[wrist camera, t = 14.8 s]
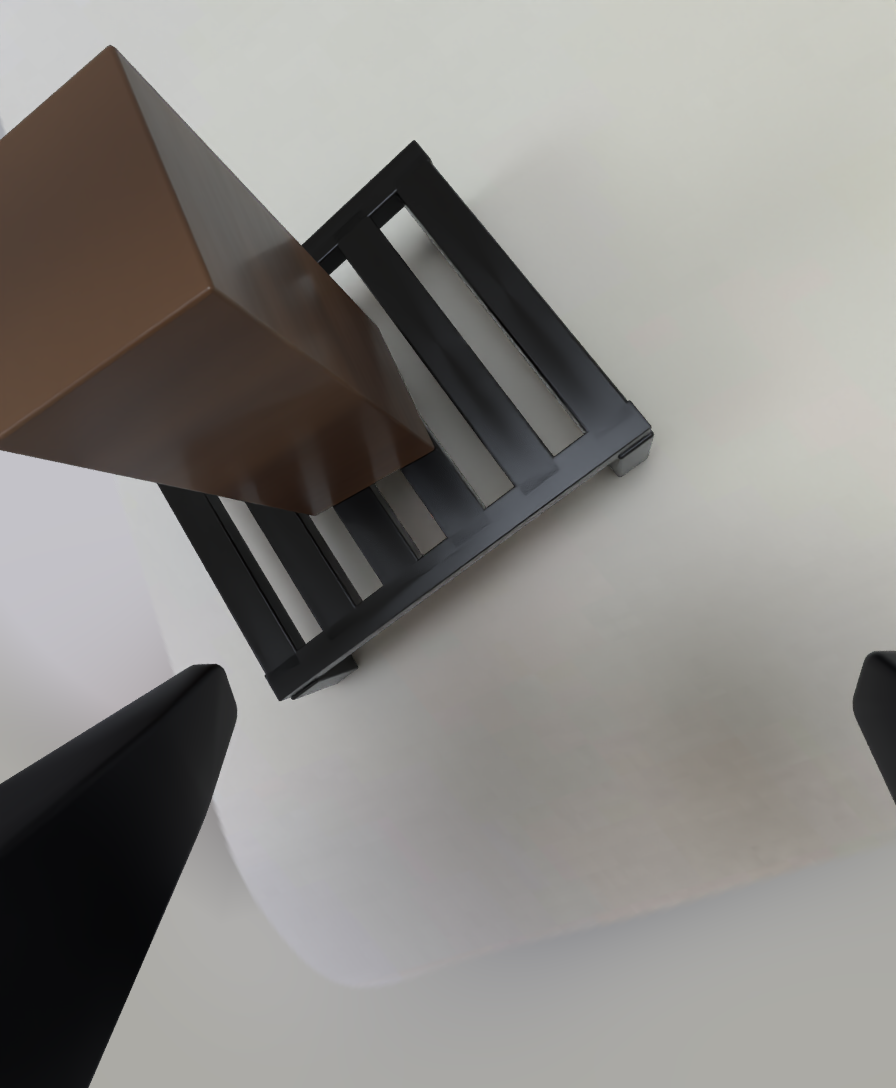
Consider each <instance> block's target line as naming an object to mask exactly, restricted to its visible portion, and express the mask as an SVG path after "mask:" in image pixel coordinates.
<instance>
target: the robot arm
mask: <svg viewBox="0 0 896 1088" xmlns="http://www.w3.org/2000/svg"><path fill="white" fill-rule="evenodd" d="M853 711H854V715H855V718H856V720H857V722H858V725H859V727H860V729H861V731H862V733H863V735H864V737H865V740H866V742H867V744H868V746H869V748H870V750H871V753H872V755H873V757H874V759H875V761H876V763H877V766H878V768H879V770H880V772H881V774H882V776H883V779H884V781H885V783H886V785H887V787H888V789H889V791H890V794H891V796H892V798H893V800H894V802H895V804H896V651H874V652H872V653H870V654H868V655H867V657H866V658H865V660H864V663H863V666H862V669H861V673H860V676H859V679H858V683H857V686H856V689H855V693H854V696H853ZM236 719H237V706H236V702H235V699H234V696H233V693H232V690H231V687H230V684H229V682H228V679H227V676H226V673H225V671H224V669H223V668H222V667H221V666H220V665H217V664H198V665H192V666H190V667H188V668H187V669H185V670H184V671H182V672H180V673H179V674H177V675H175V676H174V677H172V678H171V679H169V680H167V681H166V682H164V683H163V684H161V685H159V686H158V687H156V688H154V689H153V690H151V691H150V692H148V693H146V694H145V695H144V696H142V697H140V698H138V699H137V700H135V701H134V702H132V703H130V704H129V705H127V706H125V707H124V708H122V709H121V710H119V711H117V712H116V713H114V714H113V715H111V716H109V717H108V718H106V719H105V720H103V721H101V722H100V723H98V724H96V725H95V726H93V727H92V728H90V729H88V730H87V731H85V732H83V733H82V734H81V735H79V736H77V737H75V738H74V739H72V740H71V741H69V742H67V743H66V744H64V745H63V746H61V747H59V748H58V749H56V750H54V751H53V752H51V753H50V754H48V755H46V756H45V757H43V758H42V759H40V760H38V761H37V762H35V763H34V764H32V765H30V766H29V767H27V768H25V769H24V770H22V771H21V772H19V773H17V774H16V775H14V776H12V777H11V778H9V779H8V780H6V781H4V782H3V783H1V784H0V1088H88V1087H89V1085H90V1083H91V1081H92V1078H93V1076H94V1074H95V1071H96V1069H97V1067H98V1065H99V1062H100V1060H101V1058H102V1055H103V1053H104V1051H105V1048H106V1046H107V1044H108V1041H109V1039H110V1037H111V1034H112V1032H113V1030H114V1027H115V1025H116V1023H117V1021H118V1018H119V1016H120V1014H121V1011H122V1009H123V1007H124V1004H125V1002H126V1000H127V998H128V995H129V993H130V991H131V988H132V986H133V984H134V981H135V979H136V977H137V974H138V972H139V970H140V968H141V965H142V963H143V961H144V958H145V956H146V954H147V951H148V949H149V947H150V944H151V942H152V940H153V937H154V935H155V933H156V930H157V928H158V926H159V924H160V921H161V919H162V917H163V914H164V912H165V910H166V907H167V905H168V903H169V901H170V898H171V896H172V894H173V891H174V889H175V887H176V884H177V882H178V880H179V877H180V875H181V873H182V870H183V868H184V866H185V864H186V861H187V859H188V857H189V854H190V852H191V850H192V847H193V845H194V843H195V840H196V838H197V836H198V833H199V831H200V829H201V826H202V824H203V821H204V819H205V816H206V813H207V811H208V808H209V805H210V802H211V799H212V796H213V793H214V790H215V786H216V783H217V780H218V777H219V774H220V771H221V768H222V764H223V761H224V758H225V755H226V752H227V749H228V746H229V742H230V739H231V736H232V733H233V730H234V727H235V724H236Z"/></svg>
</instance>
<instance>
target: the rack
mask: <svg viewBox="0 0 896 1088" xmlns="http://www.w3.org/2000/svg"><path fill="white" fill-rule="evenodd" d="M403 207H405V208H406V209H407V211H408V212H409V213H410V214H411V216H412V217H413V218H414V219H415V221H416V222H417V223H418V224H419V226H420V227H421V228H422V230H423V231H424V232H425V233H426V235H427V236H428V237H429V238H430V240H431V241H432V242H433V243H434V245H435V246H436V247H437V249H438V250H439V251H440V252H441V254H442V255H443V256H444V257H445V259H446V260H447V261H448V262H449V264H450V265H451V266H452V268H453V269H454V270H455V271H456V273H457V274H458V275H459V276H460V278H461V279H462V280H463V281H464V283H465V284H466V285H467V287H468V288H469V289H470V290H471V292H472V293H473V294H474V295H475V297H476V298H477V299H478V300H479V302H480V303H481V304H482V306H483V307H484V308H485V309H486V311H487V312H488V313H489V314H490V316H491V317H492V318H493V319H494V321H495V322H496V323H497V325H498V326H499V327H500V328H501V330H502V331H503V332H504V333H505V335H506V336H507V337H508V338H509V340H510V341H511V342H512V344H513V345H514V346H515V347H516V349H517V350H518V351H519V352H520V354H521V355H522V356H523V357H524V359H525V360H526V361H527V363H528V364H529V365H530V366H531V368H532V369H533V370H534V371H535V373H536V374H537V375H538V376H539V378H540V379H541V380H542V381H543V383H544V384H545V385H546V387H547V388H548V389H549V390H550V392H551V393H552V394H553V395H554V397H555V398H556V399H557V400H558V402H559V403H560V404H561V406H562V407H563V408H564V409H565V411H566V412H567V413H568V414H569V416H570V417H571V418H572V419H573V421H574V422H575V423H576V425H577V426H578V427H579V428H580V430H581V431H582V432H583V433H584V434H583V435H582V436H581V437H579V438H578V439H577V440H576V441H574V442H573V443H572V444H570V445H569V446H568V447H566V448H565V449H564V450H562V451H561V452H560V453H558V454H557V455H556V456H553V455H552V453H551V452H550V451H549V449H548V448H547V447H546V446H545V444H544V443H543V442H542V440H541V439H540V438H539V436H538V435H537V434H536V433H535V431H534V430H533V429H532V427H531V426H530V425H529V423H528V422H527V421H526V419H525V418H524V417H523V416H522V414H521V413H520V412H519V410H518V409H517V408H516V406H515V405H514V404H513V403H512V401H511V400H510V399H509V397H508V396H507V395H506V393H505V392H504V391H503V390H502V388H501V387H500V386H499V384H498V383H497V382H496V380H495V379H494V378H493V376H492V375H491V374H490V373H489V371H488V370H487V369H486V367H485V366H484V365H483V363H482V362H481V361H480V360H479V358H478V357H477V356H476V354H475V353H474V352H473V350H472V349H471V348H470V346H469V345H468V344H467V343H466V341H465V340H464V339H463V337H462V336H461V335H460V333H459V332H458V331H457V330H456V328H455V327H454V326H453V324H452V323H451V322H450V320H449V319H448V318H447V316H446V315H445V314H444V313H443V311H442V310H441V309H440V307H439V306H438V305H437V303H436V302H435V301H434V300H433V298H432V297H431V296H430V294H429V293H428V292H427V290H426V289H425V288H424V286H423V285H422V284H421V283H420V281H419V280H418V279H417V277H416V276H415V275H414V273H413V272H412V271H411V270H410V268H409V267H408V266H407V264H406V263H405V262H404V260H403V259H402V258H401V256H400V255H399V254H398V253H397V251H396V250H395V249H394V247H393V246H392V245H391V243H390V242H389V241H388V240H387V238H386V237H385V236H384V234H383V233H382V232H381V230H380V228H381V227H382V226H383V225H384V224H386V223H387V222H388V221H389V220H390V219H391V218H392V217H393V216H394V215H395V214H396V213H398V212H399V211H400V210H401V209H402V208H403ZM301 246H302V247H303V248H304V249H305V250H306V251H307V252H308V253H309V254H310V255H311V256H312V258H313V259H314V260H315V261H316V262H317V263H318V264H319V265H320V266H321V267H322V268H323V269H324V270H325V271H326V272H327V273H328V275H330V274H331V273H332V272H333V271H334V270H335V269H336V268H337V267H339V266H340V265H341V264H342V263H343V262H344V261H345V260H346V259H347V260H348V261H349V263H350V264H351V265H352V267H353V268H354V269H355V271H356V272H357V274H358V275H359V276H360V278H361V279H362V280H363V282H364V283H365V284H366V286H367V287H368V288H369V290H370V291H371V293H372V294H373V295H374V297H375V298H376V299H377V301H378V302H379V303H380V305H381V306H382V307H383V309H384V310H385V312H386V313H387V314H388V316H389V317H390V318H391V320H392V321H393V322H394V324H395V325H396V326H397V328H398V329H399V331H400V332H401V333H402V335H403V336H404V337H405V339H406V340H407V341H408V343H409V344H410V345H411V347H412V348H413V350H414V351H415V352H416V354H417V355H418V356H419V358H420V359H421V360H422V362H423V363H424V364H425V366H426V367H427V368H428V370H429V371H430V373H431V374H432V375H433V377H434V378H435V379H436V381H437V382H438V383H439V385H440V386H441V387H442V389H443V390H444V392H445V393H446V394H447V396H448V397H449V398H450V400H451V401H452V402H453V404H454V405H455V406H456V408H457V409H458V411H459V412H460V413H461V415H462V416H463V417H464V419H465V420H466V421H467V423H468V424H469V425H470V427H471V428H472V430H473V431H474V432H475V434H476V435H477V436H478V438H479V439H480V440H481V442H482V443H483V444H484V446H485V447H486V448H487V450H488V451H489V453H490V454H491V455H492V457H493V458H494V459H495V461H496V462H497V463H498V465H499V466H500V467H501V469H502V470H503V472H504V473H505V474H506V476H507V477H508V478H509V480H510V481H511V482H512V484H513V485H514V486H515V487H513V488H512V489H511V490H509V491H508V492H507V493H505V494H504V495H503V496H501V497H500V498H499V499H497V500H496V501H495V502H493V503H492V504H491V505H489V506H488V507H487V508H486V507H485V505H484V504H483V502H482V501H481V500H480V498H479V497H478V495H477V494H476V493H475V491H474V490H473V489H472V487H471V486H470V484H469V483H468V482H467V480H466V479H465V477H464V476H463V475H462V473H461V472H460V470H459V469H458V468H457V466H456V465H455V463H454V462H453V461H452V459H451V458H450V456H449V455H448V454H447V452H446V451H445V449H444V448H443V447H442V445H441V444H440V442H439V441H438V440H437V438H436V437H435V436H434V434H433V433H432V431H431V430H430V429H429V427H428V426H427V424H426V423H425V422H424V420H423V419H422V417H421V416H420V417H421V420H422V422H423V424H424V426H425V428H426V430H427V432H428V434H429V437H430V439H431V441H432V443H433V445H434V450H433V451H431V452H429V453H427V454H426V455H424V456H422V457H420V458H418V459H417V460H415V461H413V462H411V463H410V464H408V465H406V466H404V467H402V468H401V469H400V470H401V471H402V473H403V474H404V476H405V477H406V479H407V480H408V482H409V483H410V485H411V486H412V487H413V489H414V490H415V492H416V493H417V495H418V496H419V498H420V499H421V500H422V502H423V503H424V505H425V506H426V508H427V509H428V511H429V512H430V514H431V515H432V516H433V518H434V519H435V521H436V522H437V524H438V525H439V527H440V528H441V529H442V531H443V532H444V534H445V535H446V537H447V538H446V539H444V540H443V541H442V542H440V543H439V544H438V545H436V546H435V547H434V548H432V549H431V550H430V551H428V552H427V553H426V554H424V555H422V554H421V552H420V551H419V549H418V548H417V546H416V545H415V543H414V542H413V540H412V539H411V537H410V536H409V534H408V533H407V531H406V530H405V528H404V527H403V525H402V524H401V522H400V521H399V519H398V518H397V516H396V515H395V513H394V512H393V510H392V509H391V507H390V506H389V505H388V503H387V502H386V500H385V499H384V497H383V496H382V494H381V493H380V491H379V490H378V488H377V487H376V485H375V484H372V485H370V486H368V487H366V488H365V489H363V490H361V491H359V492H357V493H356V494H354V495H352V496H350V497H348V498H347V499H345V500H343V501H341V502H339V503H338V504H336V505H334V506H332V507H333V508H334V510H335V511H336V513H337V514H338V516H339V518H340V519H341V521H342V522H343V524H344V525H345V527H346V528H347V530H348V531H349V533H350V535H351V536H352V538H353V539H354V541H355V542H356V544H357V545H358V547H359V548H360V550H361V552H362V553H363V555H364V556H365V558H366V559H367V561H368V562H369V564H370V566H371V567H372V569H373V570H374V572H375V573H376V575H377V576H378V578H379V579H380V581H381V583H382V584H383V586H382V587H381V588H379V589H378V590H377V591H375V592H374V593H373V594H372V595H370V596H369V597H368V598H366V599H365V600H364V601H362V599H361V597H360V596H359V594H358V593H357V591H356V589H355V588H354V586H353V585H352V583H351V582H350V580H349V578H348V577H347V575H346V574H345V572H344V570H343V569H342V567H341V566H340V564H339V563H338V561H337V559H336V558H335V556H334V555H333V553H332V551H331V550H330V548H329V547H328V545H327V544H326V542H325V540H324V539H323V537H322V536H321V534H320V532H319V531H318V529H317V528H316V526H315V525H314V523H313V521H312V520H311V518H310V517H309V515H308V514H303V513H298V512H293V511H288V510H284V509H279V508H274V507H269V506H265V505H260V504H255V503H250V502H245V503H246V505H247V506H248V508H249V510H250V511H251V513H252V515H253V516H254V518H255V520H256V521H257V523H258V525H259V526H260V528H261V530H262V531H263V533H264V534H265V536H266V538H267V539H268V541H269V543H270V544H271V546H272V548H273V549H274V551H275V553H276V554H277V556H278V558H279V559H280V561H281V563H282V564H283V566H284V567H285V569H286V571H287V572H288V574H289V576H290V577H291V579H292V581H293V582H294V584H295V586H296V587H297V589H298V591H299V592H300V594H301V596H302V597H303V599H304V600H305V602H306V604H307V605H308V607H309V609H310V610H311V612H312V614H313V615H314V617H315V619H316V620H317V622H318V624H319V625H320V627H321V629H322V630H323V631H322V632H321V633H320V634H319V635H317V636H316V637H315V638H313V639H312V640H311V641H309V642H308V643H307V644H306V643H305V642H304V640H303V638H302V637H301V635H300V633H299V632H298V630H297V628H296V627H295V625H294V623H293V622H292V620H291V618H290V617H289V615H288V613H287V612H286V610H285V608H284V606H283V605H282V603H281V601H280V600H279V598H278V596H277V595H276V593H275V591H274V590H273V588H272V586H271V585H270V583H269V581H268V580H267V578H266V576H265V575H264V573H263V571H262V570H261V568H260V566H259V564H258V563H257V561H256V559H255V558H254V556H253V554H252V553H251V551H250V549H249V548H248V546H247V544H246V543H245V541H244V539H243V538H242V536H241V534H240V533H239V531H238V529H237V528H236V526H235V524H234V522H233V521H232V519H231V517H230V516H229V514H228V512H227V511H226V509H225V507H224V506H223V504H222V502H221V501H220V499H219V497H218V496H217V495H212V494H207V493H202V492H198V491H193V490H188V489H183V488H179V487H174V486H169V485H164V484H159V483H157V484H158V486H159V488H160V489H161V491H162V493H163V495H164V496H165V498H166V500H167V502H168V503H169V505H170V507H171V509H172V510H173V512H174V514H175V516H176V517H177V519H178V521H179V523H180V524H181V526H182V528H183V530H184V531H185V533H186V535H187V537H188V539H189V540H190V542H191V544H192V546H193V547H194V549H195V551H196V553H197V554H198V556H199V558H200V560H201V561H202V563H203V565H204V567H205V568H206V570H207V572H208V574H209V575H210V577H211V579H212V581H213V582H214V584H215V586H216V588H217V589H218V591H219V593H220V595H221V596H222V598H223V600H224V602H225V603H226V605H227V607H228V609H229V610H230V612H231V614H232V616H233V617H234V619H235V621H236V623H237V624H238V626H239V628H240V630H241V632H242V633H243V635H244V637H245V639H246V640H247V642H248V644H249V646H250V647H251V649H252V651H253V653H254V654H255V656H256V658H257V660H258V661H259V663H260V665H261V667H262V668H263V670H264V672H265V674H266V675H265V677H266V679H267V681H268V683H269V684H270V686H271V688H272V690H273V691H274V693H275V695H276V697H277V699H278V700H279V701H282V700H285V699H288V698H290V697H291V699H292V700H295V699H298V698H300V697H303V696H306V695H308V694H311V693H314V692H316V691H319V690H321V689H324V688H327V687H329V686H332V685H335V684H337V683H339V682H340V681H341V680H343V679H344V678H345V677H347V676H348V675H350V674H351V673H352V672H354V671H355V670H356V669H358V665H357V664H356V662H355V660H354V659H353V657H352V655H351V653H353V652H354V651H355V650H357V649H358V648H360V647H361V646H362V645H364V644H365V643H366V642H368V641H369V640H370V639H372V638H373V637H375V636H376V635H377V634H379V633H380V632H381V631H383V630H384V629H385V628H387V627H388V626H389V625H391V624H392V623H394V622H395V621H396V620H398V619H399V618H400V617H402V616H403V615H404V614H406V613H407V612H409V611H410V610H411V609H413V608H414V607H415V606H417V605H418V604H419V603H421V602H422V601H424V600H425V599H426V598H428V597H429V596H430V595H432V594H433V593H434V592H436V591H437V590H438V589H440V588H441V587H443V586H444V585H445V584H447V583H448V582H449V581H451V580H452V579H453V578H455V577H456V576H458V575H459V574H460V573H462V572H463V571H464V570H466V569H467V568H468V567H470V566H471V565H472V564H474V563H475V562H477V561H478V560H479V559H481V558H482V557H483V556H485V555H486V554H487V553H489V552H490V551H492V550H493V549H494V548H496V547H497V546H498V545H500V544H501V543H502V542H504V541H505V540H506V539H508V538H509V537H511V536H512V535H513V534H515V533H516V532H517V531H519V530H520V529H521V528H523V527H524V526H526V525H527V524H528V523H530V522H531V521H532V520H534V519H535V518H536V517H538V516H539V515H540V514H542V513H543V512H545V511H546V510H547V509H549V508H550V507H551V506H553V505H554V504H555V503H557V502H558V501H560V500H561V499H562V498H564V497H565V496H566V495H568V494H569V493H570V492H572V491H573V490H574V489H576V488H577V487H579V486H580V485H581V484H583V483H584V482H585V481H587V480H588V479H589V478H591V477H592V476H594V475H595V474H596V473H598V472H599V471H600V470H602V469H603V468H604V467H606V466H607V465H609V466H610V467H611V468H612V470H613V471H614V472H615V474H616V475H617V476H618V477H622V476H624V475H625V474H626V473H628V472H629V471H630V470H632V469H633V468H635V467H636V466H637V465H639V464H640V463H641V462H643V461H644V460H646V459H647V458H648V455H649V452H650V448H651V445H652V441H653V437H654V433H653V431H652V430H651V425H650V424H649V423H648V421H647V420H646V419H645V418H644V417H643V415H642V414H641V413H640V412H639V411H638V409H637V408H636V407H635V406H634V404H633V403H632V402H631V401H630V400H629V401H627V400H626V398H625V397H624V396H623V395H622V393H621V392H620V391H619V390H618V389H617V387H616V386H615V385H614V384H613V383H612V381H611V380H610V379H609V378H608V376H607V375H606V374H605V373H604V372H603V370H602V369H601V368H600V367H599V366H598V364H597V363H596V362H595V361H594V359H593V358H592V357H591V356H590V355H589V353H588V352H587V351H586V350H585V349H584V347H583V346H582V345H581V344H580V342H579V341H578V340H577V339H576V338H575V336H574V335H573V334H572V333H571V332H570V330H569V329H568V328H567V327H566V325H565V324H564V323H563V322H562V321H561V319H560V318H559V317H558V316H557V315H556V313H555V312H554V311H553V310H552V308H551V307H550V306H549V305H548V304H547V302H546V301H545V300H544V299H543V298H542V296H541V295H540V294H539V293H538V291H537V290H536V289H535V288H534V287H533V285H532V284H531V283H530V282H529V281H528V279H527V278H526V277H525V276H524V275H523V273H522V272H521V271H520V270H519V268H518V267H517V266H516V265H515V264H514V262H513V261H512V260H511V259H510V258H509V256H508V255H507V254H506V253H505V251H504V250H503V249H502V248H501V247H500V245H499V244H498V243H497V242H496V241H495V239H494V238H493V237H492V236H491V234H490V233H489V232H488V231H487V230H486V228H485V227H484V226H483V225H482V224H481V222H480V221H479V220H478V219H477V217H476V216H475V215H474V214H473V213H472V211H471V210H470V209H469V208H468V207H467V205H466V204H465V203H464V202H463V200H462V199H461V198H460V197H459V196H458V194H457V193H456V192H455V191H454V190H453V188H452V187H451V186H450V185H449V183H448V182H447V181H446V180H445V179H444V177H443V176H442V175H441V174H440V173H439V171H438V170H437V169H436V168H435V166H434V165H433V163H432V161H431V159H430V158H429V156H428V155H427V154H426V153H425V152H424V150H423V149H422V148H421V147H420V145H419V144H418V143H417V142H416V141H415V140H413V141H412V142H411V143H410V144H409V145H408V146H407V147H406V148H405V149H403V150H402V151H401V152H400V153H399V154H398V155H397V156H396V157H395V158H394V159H393V160H392V161H391V162H390V163H389V164H388V165H386V166H385V167H384V168H383V169H382V170H381V171H380V172H379V173H378V174H377V175H376V176H375V177H374V178H373V179H372V180H370V181H369V182H368V183H367V184H366V185H365V186H364V187H363V188H362V189H361V190H360V191H359V192H358V193H357V194H356V195H355V196H353V197H352V198H351V199H350V200H349V201H348V202H347V203H346V204H345V205H344V206H343V207H342V208H341V209H340V210H339V211H338V212H336V213H335V214H334V215H333V216H332V217H331V218H330V219H329V220H328V221H327V222H326V223H325V224H324V225H323V226H322V227H320V228H319V229H318V230H317V231H316V232H315V233H314V234H313V235H312V236H311V237H310V238H309V239H308V240H307V241H306V242H305V243H303V244H302V245H301Z"/></svg>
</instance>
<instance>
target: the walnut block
mask: <svg viewBox="0 0 896 1088" xmlns="http://www.w3.org/2000/svg"><path fill="white" fill-rule="evenodd" d="M0 450H2V451H7V452H12V453H16V454H21V455H26V456H30V457H35V458H40V459H45V460H50V461H55V462H60V463H64V464H69V465H74V466H78V467H83V468H88V469H93V470H98V471H102V472H107V473H112V474H116V475H121V476H126V477H131V478H136V479H140V480H145V481H150V482H155V483H159V484H164V485H169V486H174V487H179V488H183V489H188V490H193V491H198V492H202V493H207V494H212V495H217V496H222V497H226V498H231V499H236V500H241V501H245V502H250V503H255V504H260V505H265V506H269V507H274V508H279V509H284V510H288V511H293V512H298V513H303V514H308V515H312V516H316V515H318V514H320V513H321V512H323V511H325V510H327V509H329V508H330V507H332V506H334V505H336V504H338V503H339V502H341V501H343V500H345V499H347V498H348V497H350V496H352V495H354V494H356V493H357V492H359V491H361V490H363V489H365V488H366V487H368V486H370V485H372V484H374V483H375V482H377V481H379V480H381V479H383V478H384V477H386V476H388V475H390V474H392V473H393V472H395V471H397V470H399V469H401V468H402V467H404V466H406V465H408V464H410V463H411V462H413V461H415V460H417V459H418V458H420V457H422V456H424V455H426V454H427V453H429V452H431V451H433V450H434V445H433V443H432V441H431V439H430V437H429V434H428V432H427V430H426V428H425V426H424V424H423V422H422V420H421V417H420V415H419V413H418V411H417V409H416V407H415V405H414V403H413V400H412V398H411V396H410V394H409V392H408V390H407V388H406V386H405V383H404V381H403V379H402V377H401V375H400V373H399V371H398V369H397V366H396V364H395V362H394V360H393V358H392V356H391V354H390V352H389V349H388V347H387V345H386V343H385V341H384V339H383V337H382V334H381V332H380V330H379V328H378V327H377V326H376V325H375V324H374V322H373V321H372V320H371V319H370V318H369V317H368V316H367V315H366V314H365V313H364V312H363V311H362V310H361V309H360V308H359V307H358V305H357V304H356V303H355V302H354V301H353V300H352V299H351V298H350V297H349V296H348V295H347V294H346V293H345V292H344V291H343V289H342V288H341V287H340V286H339V285H338V284H337V283H336V282H335V281H334V280H333V279H332V278H331V277H330V276H329V275H328V273H327V272H326V271H325V270H324V269H323V268H322V267H321V266H320V265H319V264H318V263H317V262H316V261H315V260H314V259H313V258H312V256H311V255H310V254H309V253H308V252H307V251H306V250H305V249H304V248H303V247H302V246H301V245H300V244H299V243H298V242H297V240H296V239H295V238H294V237H293V236H292V235H291V234H290V233H289V232H288V231H287V230H286V229H285V228H284V227H283V226H282V225H281V223H280V222H279V221H278V220H277V219H276V218H275V217H274V216H273V215H272V214H271V213H270V212H269V211H268V210H267V209H266V207H265V206H264V205H263V204H262V203H261V202H260V201H259V200H258V199H257V198H256V197H255V196H254V195H253V194H252V193H251V192H250V190H249V189H248V188H247V187H246V186H245V185H244V184H243V183H242V182H241V181H240V180H239V179H238V178H237V177H236V176H235V174H234V173H233V172H232V171H231V170H230V169H229V168H228V167H227V166H226V165H225V164H224V163H223V162H222V161H221V160H220V159H219V157H218V156H217V155H216V154H215V153H214V152H213V151H212V150H211V149H210V148H209V147H208V146H207V145H206V144H205V143H204V141H203V140H202V139H201V138H200V137H199V136H198V135H197V134H196V133H195V132H194V131H193V130H192V129H191V128H190V127H189V126H188V124H187V123H186V122H185V121H184V120H183V119H182V118H181V117H180V116H179V115H178V114H177V113H176V112H175V111H174V110H173V108H172V107H171V106H170V105H169V104H168V103H167V102H166V101H165V100H164V99H163V98H162V97H161V96H160V95H159V94H158V93H157V91H156V90H155V89H154V88H153V87H152V86H151V85H150V84H149V83H148V82H147V81H146V80H145V79H144V78H143V77H142V75H141V74H140V73H139V72H138V71H137V70H136V69H135V68H134V67H133V66H132V65H131V64H130V63H129V62H128V61H127V59H126V58H125V57H124V56H123V55H122V54H121V53H120V52H119V51H118V50H117V49H116V48H115V47H113V46H112V45H109V46H107V47H106V48H105V49H104V50H103V51H102V52H100V53H99V54H98V55H97V56H96V57H95V58H94V59H92V60H91V61H90V62H89V63H88V64H87V65H86V66H84V67H83V68H82V69H81V70H80V71H79V72H77V73H76V74H75V75H74V76H73V77H72V78H71V79H69V80H68V81H67V82H66V83H65V84H64V85H63V86H61V87H60V88H59V89H58V90H57V91H56V92H55V93H53V94H52V95H51V96H50V97H49V98H48V99H47V100H45V101H44V102H43V103H42V104H41V105H40V106H39V107H37V108H36V109H35V110H34V111H33V112H32V113H31V114H29V115H28V116H27V117H26V118H25V119H24V120H23V121H21V122H20V123H19V124H18V125H17V126H16V127H15V128H13V129H12V130H11V131H10V132H9V133H8V134H7V135H5V136H4V137H3V138H2V139H1V140H0Z"/></svg>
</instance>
